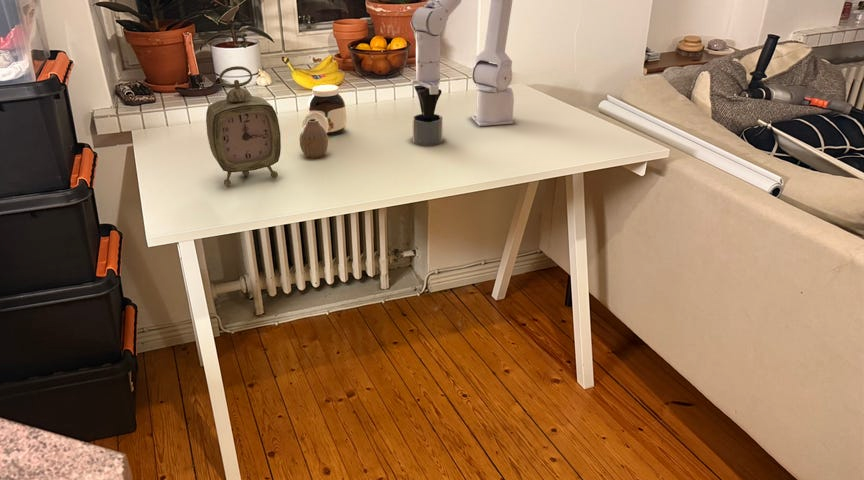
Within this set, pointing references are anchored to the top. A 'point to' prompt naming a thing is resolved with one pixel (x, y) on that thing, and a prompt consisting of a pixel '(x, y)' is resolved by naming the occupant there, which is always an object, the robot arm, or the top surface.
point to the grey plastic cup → (427, 130)
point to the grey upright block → (426, 119)
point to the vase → (313, 139)
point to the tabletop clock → (243, 131)
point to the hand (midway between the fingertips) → (427, 116)
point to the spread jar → (327, 109)
